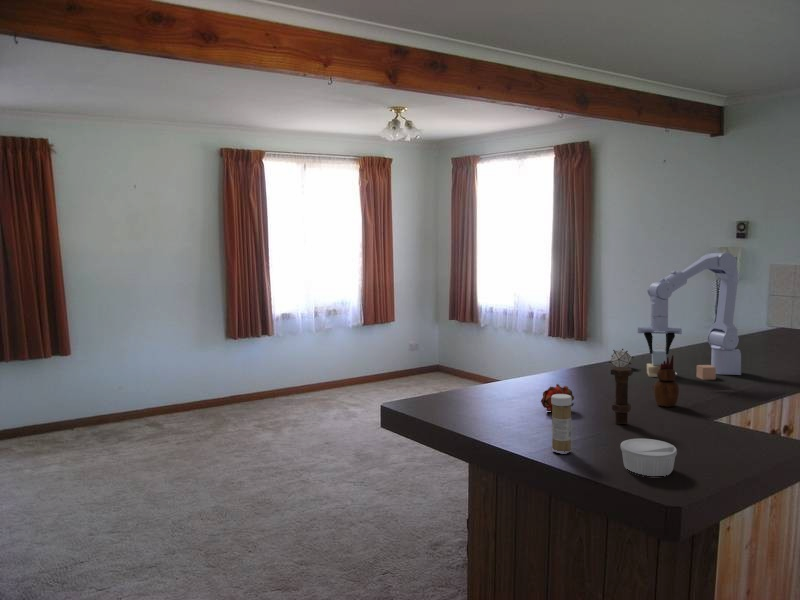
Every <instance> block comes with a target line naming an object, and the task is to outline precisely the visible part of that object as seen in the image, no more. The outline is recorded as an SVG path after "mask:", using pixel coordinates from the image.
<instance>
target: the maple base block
mask: <svg viewBox="0 0 800 600" xmlns="http://www.w3.org/2000/svg"><path fill="white" fill-rule="evenodd" d="M660 366H661V365H660ZM660 366H653V364H652V363H646V374H647V376H648V377H650V378H652V377H653V378H654V377H655V378H658V377H657V372H658V370H659V369H660Z"/></svg>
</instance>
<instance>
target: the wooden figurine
mask: <svg viewBox="0 0 800 600" xmlns="http://www.w3.org/2000/svg"><path fill="white" fill-rule="evenodd" d="M675 372H676V371H675V369H674V355H671V359H669V356H666V363H665V361H664V362H663V364H662V363H661V366H660V369H659V370H658V372H657V377H656V378H658V380H656V381H655V382H654V384H653V396H654V401H655V402H656V404H657V405H658V406H660V407H663V406H665V407H664V408H670V407H674V406H676V404H677V402H678V399H679V395H680V393H679V392H680V389H679V388H680V387H679V384H678V383H677V382H676V381H674V380H676V379H675V378H676V374H675Z"/></svg>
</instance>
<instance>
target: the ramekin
mask: <svg viewBox="0 0 800 600" xmlns="http://www.w3.org/2000/svg"><path fill="white" fill-rule="evenodd" d="M620 450H621V453H622V454H621V455H622V461H623V466H624V468H625V469H626V470H627V469H628V470H630V471H632V472H635V473H638V474H642V475H647V476H664V477H667V476H669V475H670V474H671V473H672V472H673V470H674V466H675V461H676V460H675V459H676V456H677V454H678V449H677V448H676V447H675V445H673V444H671V443H669V442H667V441H663V440H659V439H651V438H641V437H640V438H630V439H626V440H623V441H622V442H621V443H620ZM628 470H627V471H628ZM666 475H667V476H666Z"/></svg>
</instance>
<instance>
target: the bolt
mask: <svg viewBox="0 0 800 600" xmlns="http://www.w3.org/2000/svg"><path fill="white" fill-rule="evenodd" d="M633 374H634V373H633V369H632V368H631V367H615V366H614V367H611V369H610V375H613V376H614V381H615V382H614V383H615V386H614V387H615V388H614V389H615V392H614V394H615V396H614V398H615V399H614V400H615V402H613V403H612V404H611V405H612V406H611V410H612V411H613V412H614V413H615V414H614V415H615V416H614V417H615V418H614V421H615V422H614V423H615V424H616V423H617V424H616V425H620V424H626V425H627V424H628V419H629V418H628V417H629V415H628V413H630V412H631V410H632V409H631V408H632V406H631V404H630V403H629V402H628V399H629V397H628V396H629V394H628V393H629V390H628V389H629V377H630V376H632V375H633Z"/></svg>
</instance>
